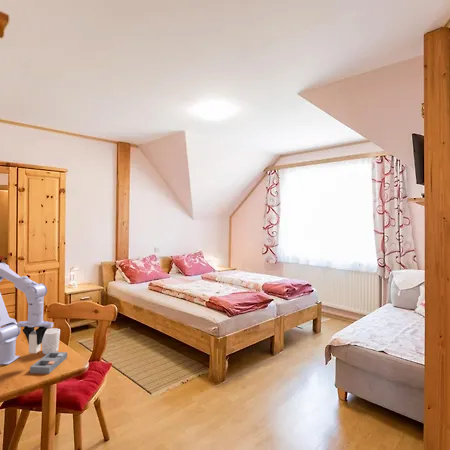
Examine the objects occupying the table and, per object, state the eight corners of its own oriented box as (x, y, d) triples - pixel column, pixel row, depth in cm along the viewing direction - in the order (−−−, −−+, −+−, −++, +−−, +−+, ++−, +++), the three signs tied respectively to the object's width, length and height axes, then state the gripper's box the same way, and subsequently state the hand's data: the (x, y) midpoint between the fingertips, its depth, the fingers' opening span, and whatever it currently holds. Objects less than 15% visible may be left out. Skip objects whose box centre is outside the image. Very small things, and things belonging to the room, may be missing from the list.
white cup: (42, 349, 153) (43, 328, 153) (60, 347, 156) (61, 327, 156) (39, 355, 146) (40, 334, 146) (58, 353, 149) (58, 333, 149)
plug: (28, 353, 134) (29, 332, 134) (33, 349, 137) (33, 329, 137) (36, 353, 134) (36, 332, 134) (40, 350, 137) (40, 330, 137)
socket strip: (29, 372, 130) (30, 365, 130) (49, 357, 145) (49, 350, 145) (49, 373, 130) (49, 366, 130) (67, 357, 145) (67, 351, 145)
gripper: (12, 314, 131) (11, 346, 131) (47, 315, 131) (46, 347, 132) (23, 309, 138) (22, 340, 138) (56, 310, 138) (55, 341, 139)
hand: (35, 343), depth 135 cm, fingers closed on plug, 3 cm apart
